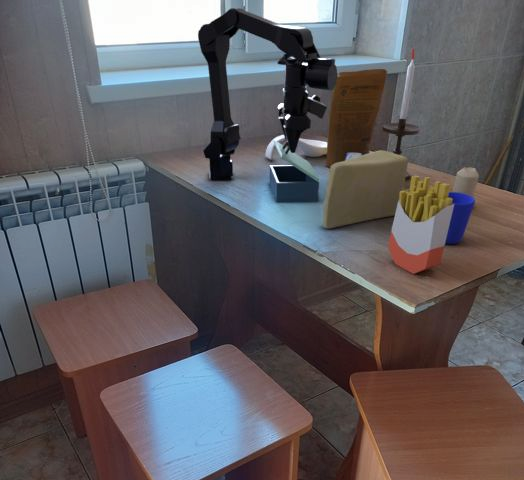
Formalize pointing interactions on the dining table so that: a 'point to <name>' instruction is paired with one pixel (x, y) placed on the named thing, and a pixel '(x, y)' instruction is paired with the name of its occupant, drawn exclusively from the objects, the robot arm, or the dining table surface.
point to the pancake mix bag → (353, 113)
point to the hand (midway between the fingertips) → (291, 149)
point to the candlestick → (404, 114)
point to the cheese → (364, 188)
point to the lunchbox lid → (295, 159)
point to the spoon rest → (301, 147)
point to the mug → (459, 216)
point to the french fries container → (421, 225)
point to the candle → (466, 181)
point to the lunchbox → (292, 184)
